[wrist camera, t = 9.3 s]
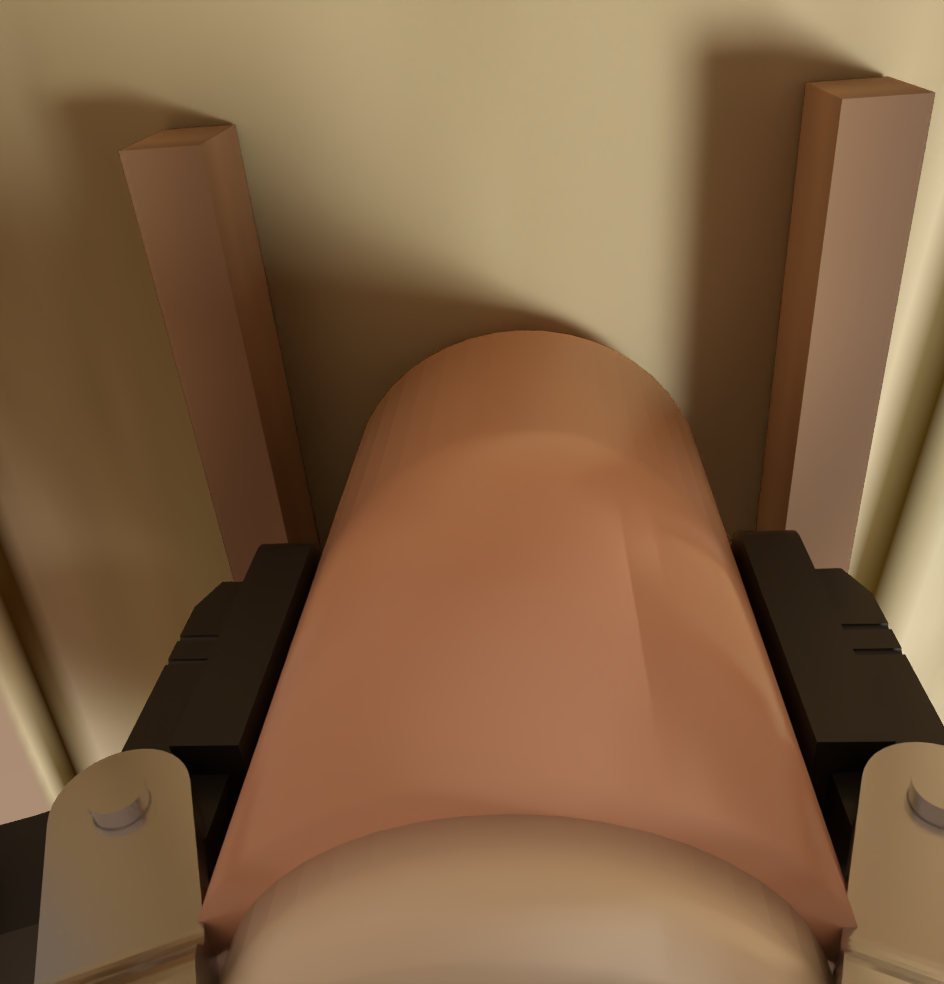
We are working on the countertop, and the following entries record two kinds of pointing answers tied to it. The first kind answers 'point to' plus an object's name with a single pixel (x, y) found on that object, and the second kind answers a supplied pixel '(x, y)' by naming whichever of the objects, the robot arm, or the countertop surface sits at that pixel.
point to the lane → (799, 352)
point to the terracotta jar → (527, 710)
